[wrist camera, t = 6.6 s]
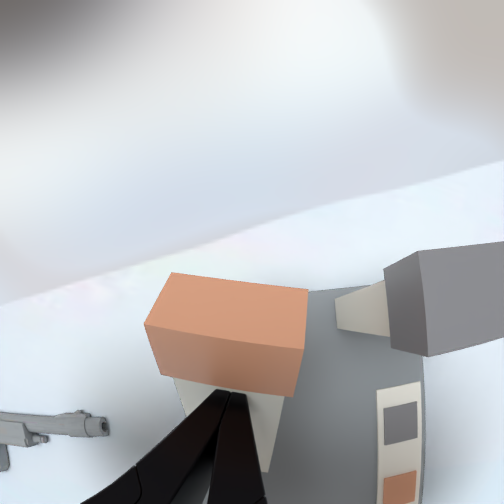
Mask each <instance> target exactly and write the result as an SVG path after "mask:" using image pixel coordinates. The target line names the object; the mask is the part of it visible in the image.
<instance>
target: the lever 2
mask: <svg viewBox="0 0 504 504" xmlns="http://www.w3.org/2000/svg"><path fill="white" fill-rule="evenodd" d="M383 270H384V278H385V280H383V281H380V282H378V283H375V284H373V285H370V286H368V287H365V288H362V289H360V290H357V291H354V292H352V293H349V294H346V295H344V296H341V297H338V298H336V299H335V309H336V321H337V329H343V330H349V331H355V332H361V333H368V334H374V335H381V336H387V337H390V343H391V348H392V349H396V350H400V351H404V352H409V353H413V354H417V355H421V356H426V357H431V356H435V355H440V354H444V353H448V352H452V351H456V350H460V349H464V348H468V347H471V346H475V345H479V344H482V343H486V342H489V341H493V340H496V339H499V338H503V337H504V241H503V242H494V243H486V244H477V245H468V246H459V247H450V248H441V249H432V250H422V251H417V252H415V253H413V254H411V255H409V256H407V257H405V258H404V259H402V260H400V261H398V262H396V263H394V264H392V265H390V266H388V267H386V268H384V269H383Z"/></svg>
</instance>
